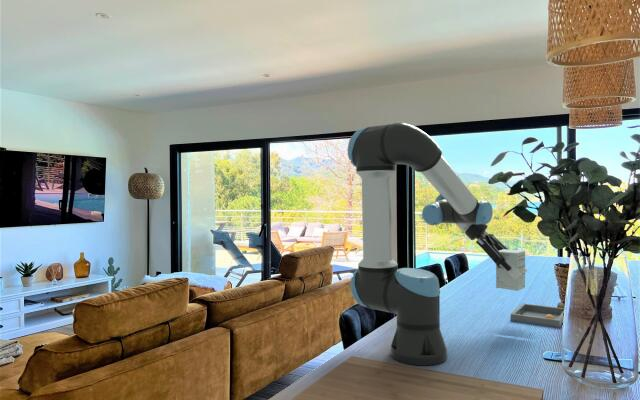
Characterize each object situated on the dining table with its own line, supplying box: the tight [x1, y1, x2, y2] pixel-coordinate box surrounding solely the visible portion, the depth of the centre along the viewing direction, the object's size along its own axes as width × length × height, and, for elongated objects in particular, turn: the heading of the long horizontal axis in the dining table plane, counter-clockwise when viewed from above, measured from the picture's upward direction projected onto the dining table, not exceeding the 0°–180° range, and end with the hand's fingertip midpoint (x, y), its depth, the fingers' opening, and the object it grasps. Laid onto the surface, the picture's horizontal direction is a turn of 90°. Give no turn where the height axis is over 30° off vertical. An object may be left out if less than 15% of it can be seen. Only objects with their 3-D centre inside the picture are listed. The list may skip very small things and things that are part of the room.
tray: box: [510, 303, 564, 328], centre depth 158 cm, size 18×15×3 cm
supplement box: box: [495, 249, 526, 292], centre depth 152 cm, size 7×7×13 cm
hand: (521, 275), depth 150 cm, fingers closed on supplement box, 8 cm apart
